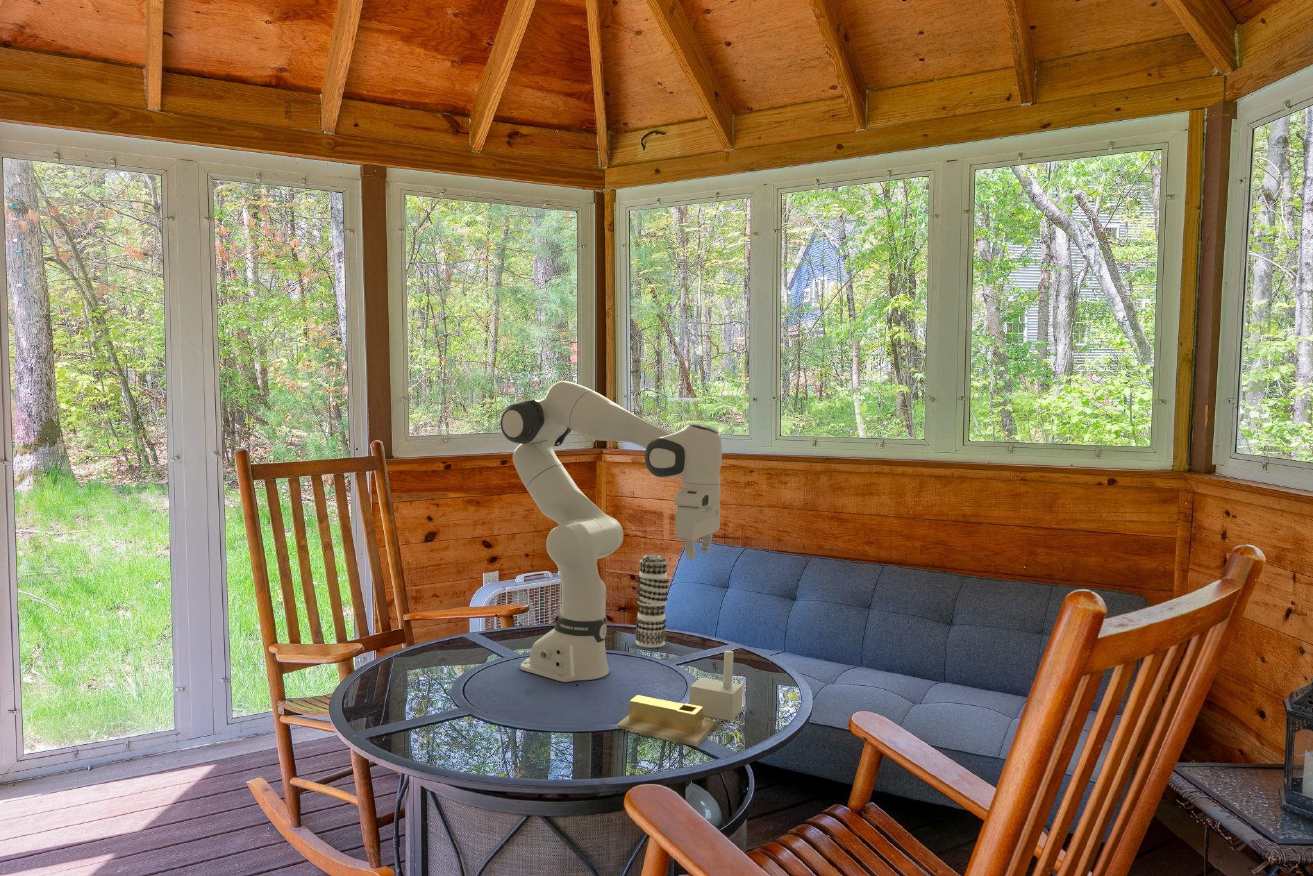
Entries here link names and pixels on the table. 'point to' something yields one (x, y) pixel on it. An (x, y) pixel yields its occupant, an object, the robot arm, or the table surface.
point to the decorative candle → (651, 601)
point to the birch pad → (668, 731)
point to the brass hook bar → (666, 713)
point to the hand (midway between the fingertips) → (697, 555)
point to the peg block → (718, 693)
